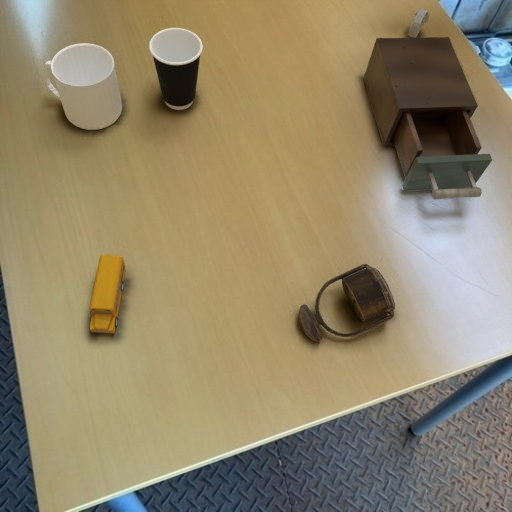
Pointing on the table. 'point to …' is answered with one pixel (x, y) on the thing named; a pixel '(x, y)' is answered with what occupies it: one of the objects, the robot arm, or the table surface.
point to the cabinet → (414, 80)
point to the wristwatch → (418, 22)
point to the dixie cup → (176, 65)
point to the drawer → (440, 153)
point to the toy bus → (107, 294)
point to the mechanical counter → (354, 301)
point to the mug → (85, 85)
